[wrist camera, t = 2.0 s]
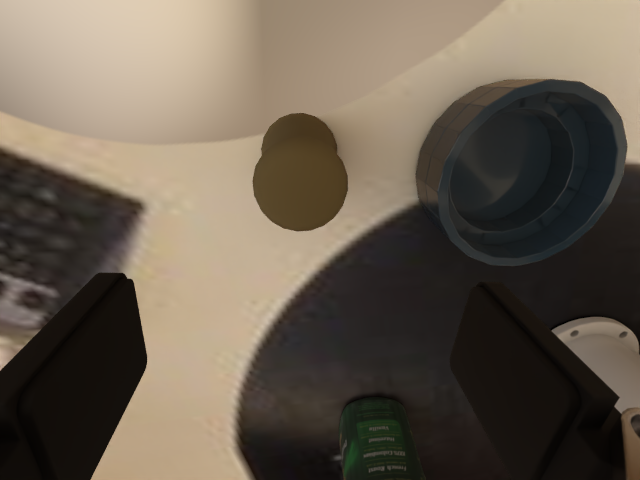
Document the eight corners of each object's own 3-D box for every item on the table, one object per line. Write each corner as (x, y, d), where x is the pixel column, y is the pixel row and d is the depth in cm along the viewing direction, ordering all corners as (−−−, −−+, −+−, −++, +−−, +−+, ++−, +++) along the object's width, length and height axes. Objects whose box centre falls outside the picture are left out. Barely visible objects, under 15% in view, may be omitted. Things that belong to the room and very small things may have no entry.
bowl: (593, 88, 27) (662, 89, 22) (537, 240, 32) (581, 269, 27) (432, 73, 26) (464, 71, 21) (401, 233, 31) (421, 262, 26)
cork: (245, 155, 27) (215, 198, 17) (296, 95, 26) (295, 103, 16) (302, 204, 29) (305, 267, 19) (353, 150, 28) (384, 189, 18)
